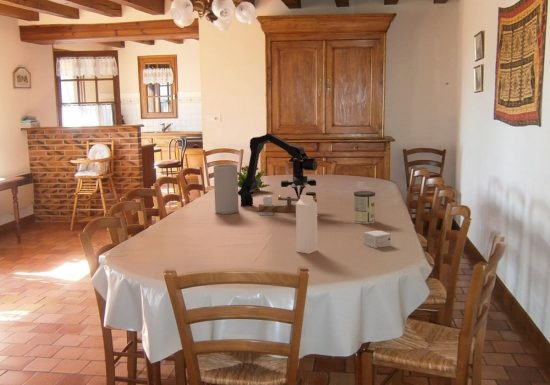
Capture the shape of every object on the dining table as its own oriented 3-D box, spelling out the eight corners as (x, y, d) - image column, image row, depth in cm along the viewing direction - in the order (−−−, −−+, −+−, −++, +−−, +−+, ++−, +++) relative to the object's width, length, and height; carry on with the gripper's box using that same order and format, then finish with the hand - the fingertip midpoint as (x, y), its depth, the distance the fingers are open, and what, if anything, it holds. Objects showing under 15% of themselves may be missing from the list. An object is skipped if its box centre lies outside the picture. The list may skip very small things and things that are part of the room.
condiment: (320, 216, 273) (320, 192, 271) (307, 218, 268) (306, 194, 266) (311, 213, 279) (311, 191, 277) (298, 215, 274) (298, 192, 272)
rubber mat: (259, 215, 276) (259, 214, 276) (259, 212, 283) (259, 212, 283) (273, 215, 276) (273, 214, 276) (272, 212, 283) (272, 211, 283)
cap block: (263, 206, 286) (263, 196, 285) (263, 204, 290) (263, 195, 289) (272, 205, 286) (271, 196, 285) (271, 204, 290) (271, 195, 290)
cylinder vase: (242, 210, 290) (241, 164, 286) (231, 215, 279) (229, 167, 275) (222, 209, 295) (221, 164, 291) (210, 213, 284) (209, 166, 280)
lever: (277, 200, 287) (278, 195, 286) (277, 199, 289) (278, 195, 289) (300, 201, 287) (300, 196, 287) (299, 200, 289) (300, 196, 289)
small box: (374, 248, 210) (375, 236, 209) (363, 244, 217) (363, 232, 216) (390, 246, 214) (391, 233, 213) (378, 241, 221) (378, 229, 220)
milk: (304, 248, 212) (304, 193, 209) (317, 250, 209) (317, 194, 205) (296, 251, 207) (295, 195, 204) (309, 254, 204) (308, 197, 200)
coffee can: (355, 218, 265) (355, 190, 262) (376, 219, 261) (376, 191, 259) (351, 223, 255) (351, 194, 253) (373, 224, 252) (373, 194, 249)
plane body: (258, 212, 286) (258, 199, 284) (258, 209, 291) (258, 197, 290) (296, 211, 286) (295, 198, 285) (295, 209, 292) (295, 196, 291)
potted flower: (278, 190, 358) (277, 164, 355) (258, 195, 338) (257, 168, 335) (247, 187, 371) (247, 162, 368) (226, 192, 351) (226, 166, 348)
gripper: (281, 172, 277) (282, 202, 280) (317, 171, 278) (317, 200, 280) (280, 170, 288) (281, 198, 291) (314, 168, 289) (315, 197, 291)
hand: (298, 199), depth 288 cm, fingers closed, pressing on lever
